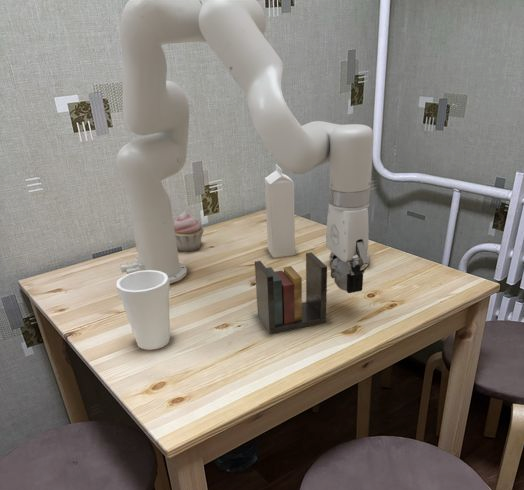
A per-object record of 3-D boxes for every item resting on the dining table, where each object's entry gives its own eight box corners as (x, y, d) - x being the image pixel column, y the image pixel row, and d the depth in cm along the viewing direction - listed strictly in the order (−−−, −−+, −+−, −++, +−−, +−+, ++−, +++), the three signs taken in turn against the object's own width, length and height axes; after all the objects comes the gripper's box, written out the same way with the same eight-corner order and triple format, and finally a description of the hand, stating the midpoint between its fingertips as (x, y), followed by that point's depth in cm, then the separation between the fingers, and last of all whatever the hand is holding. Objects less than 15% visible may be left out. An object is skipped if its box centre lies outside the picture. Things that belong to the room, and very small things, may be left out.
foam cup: (138, 328, 107) (126, 270, 100) (182, 329, 106) (173, 269, 99) (122, 354, 99) (108, 292, 92) (170, 354, 98) (159, 292, 91)
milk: (289, 247, 141) (287, 162, 130) (295, 255, 136) (294, 168, 125) (267, 250, 140) (263, 164, 129) (272, 258, 135) (269, 170, 124)
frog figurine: (346, 279, 112) (347, 248, 108) (368, 290, 107) (370, 258, 103) (323, 287, 109) (324, 255, 105) (346, 299, 104) (347, 266, 100)
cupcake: (201, 254, 140) (196, 217, 135) (167, 253, 142) (162, 217, 136) (209, 241, 148) (206, 206, 143) (178, 240, 149) (173, 206, 144)
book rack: (269, 334, 103) (267, 277, 97) (257, 316, 110) (254, 261, 103) (326, 322, 106) (327, 266, 99) (311, 305, 112) (311, 252, 106)
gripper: (313, 188, 104) (313, 271, 114) (351, 212, 90) (347, 305, 99) (347, 183, 106) (344, 265, 115) (390, 206, 92) (383, 298, 101)
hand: (346, 283), depth 107 cm, fingers closed on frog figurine, 6 cm apart
